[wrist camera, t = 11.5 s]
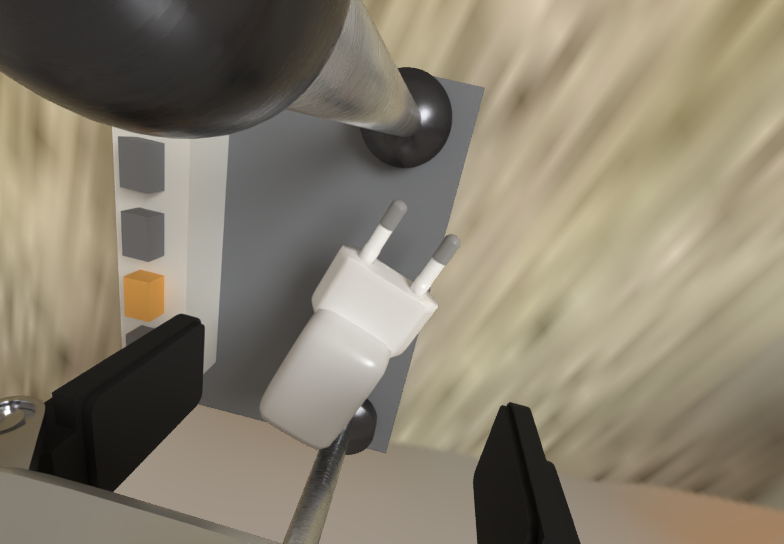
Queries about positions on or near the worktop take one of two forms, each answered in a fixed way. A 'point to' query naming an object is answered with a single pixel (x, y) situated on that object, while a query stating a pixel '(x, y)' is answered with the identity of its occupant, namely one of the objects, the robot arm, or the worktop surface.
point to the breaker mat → (270, 237)
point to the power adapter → (351, 336)
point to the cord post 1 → (224, 68)
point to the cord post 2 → (329, 476)
